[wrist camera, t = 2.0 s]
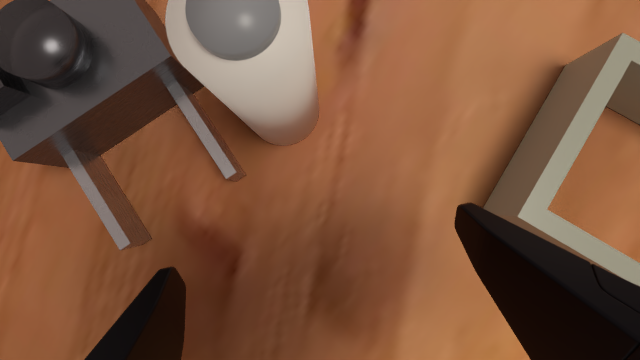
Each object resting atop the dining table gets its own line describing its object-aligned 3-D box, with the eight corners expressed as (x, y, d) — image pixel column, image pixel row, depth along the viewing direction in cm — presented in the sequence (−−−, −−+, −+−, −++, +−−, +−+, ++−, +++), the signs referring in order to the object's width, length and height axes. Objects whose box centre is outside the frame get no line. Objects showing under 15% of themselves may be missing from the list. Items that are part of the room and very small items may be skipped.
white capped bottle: (295, 158, 23) (256, 110, 11) (235, 122, 24) (127, 33, 11) (332, 98, 23) (336, -20, 11) (272, 62, 24) (208, -92, 11)
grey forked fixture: (258, 167, 23) (229, 154, 16) (127, 254, 23) (43, 277, 16) (154, 11, 24) (86, -63, 17) (28, 94, 24) (-90, 52, 17)
